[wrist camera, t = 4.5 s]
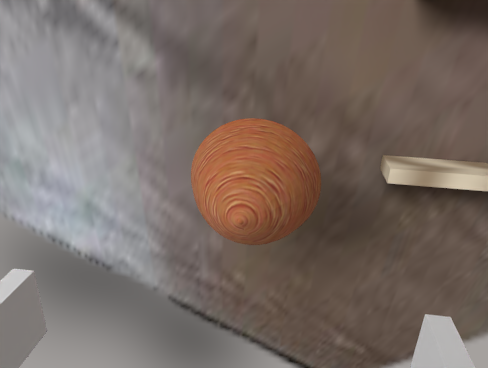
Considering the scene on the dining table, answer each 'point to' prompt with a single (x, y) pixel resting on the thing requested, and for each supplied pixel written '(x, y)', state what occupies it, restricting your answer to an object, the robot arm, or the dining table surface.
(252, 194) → the mushroom
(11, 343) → the robot arm
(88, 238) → the dining table surface
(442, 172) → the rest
